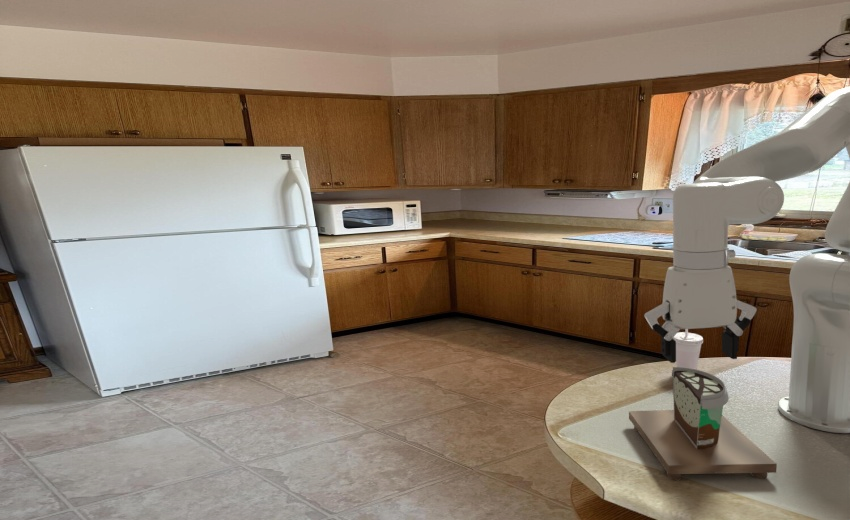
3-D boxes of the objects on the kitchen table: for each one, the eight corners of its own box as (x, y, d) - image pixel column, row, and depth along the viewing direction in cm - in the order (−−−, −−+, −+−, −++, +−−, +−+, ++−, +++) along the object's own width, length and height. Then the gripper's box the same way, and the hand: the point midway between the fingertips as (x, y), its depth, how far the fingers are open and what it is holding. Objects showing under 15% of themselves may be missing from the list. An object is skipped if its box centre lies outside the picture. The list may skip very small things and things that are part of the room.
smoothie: (666, 375, 107) (667, 320, 104) (676, 367, 111) (677, 313, 109) (696, 383, 102) (698, 324, 100) (706, 374, 106) (707, 317, 104)
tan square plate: (714, 423, 86) (715, 408, 85) (775, 481, 69) (776, 463, 69) (628, 425, 87) (628, 411, 87) (668, 482, 71) (668, 465, 70)
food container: (742, 455, 71) (745, 397, 70) (701, 454, 72) (702, 397, 71) (705, 415, 83) (707, 365, 82) (670, 415, 84) (671, 365, 83)
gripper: (741, 250, 75) (739, 346, 78) (635, 259, 77) (637, 352, 80) (771, 258, 68) (768, 363, 71) (654, 268, 70) (655, 370, 73)
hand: (699, 357), depth 76 cm, fingers open, 9 cm apart
